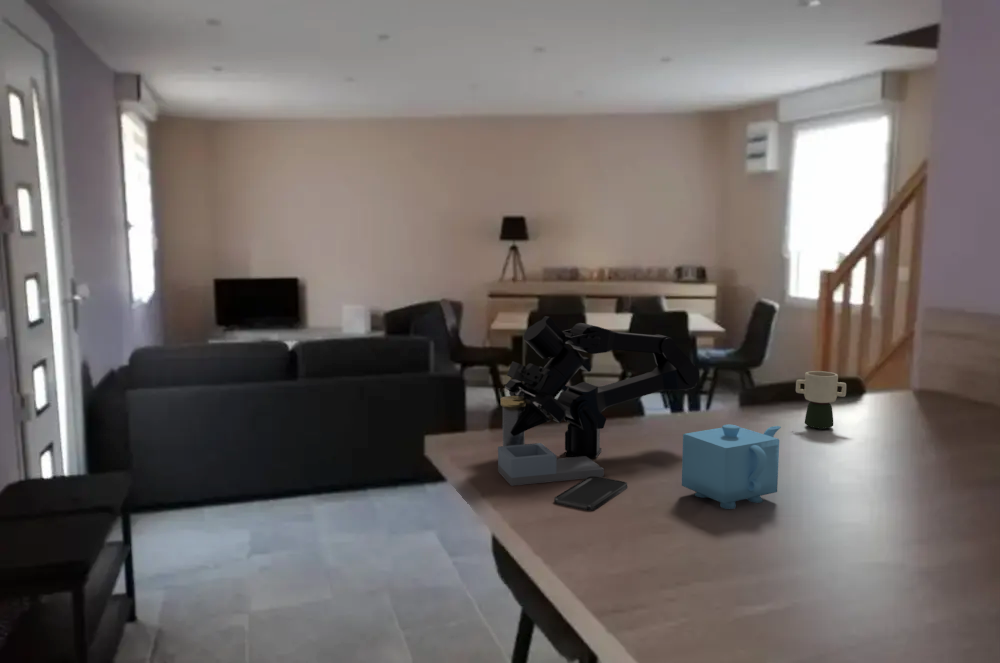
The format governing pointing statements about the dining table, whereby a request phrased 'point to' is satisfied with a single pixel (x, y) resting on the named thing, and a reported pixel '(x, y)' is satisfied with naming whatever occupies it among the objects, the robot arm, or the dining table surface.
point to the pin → (512, 419)
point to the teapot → (731, 464)
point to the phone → (591, 493)
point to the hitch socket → (542, 465)
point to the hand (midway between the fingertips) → (507, 431)
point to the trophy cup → (820, 397)
